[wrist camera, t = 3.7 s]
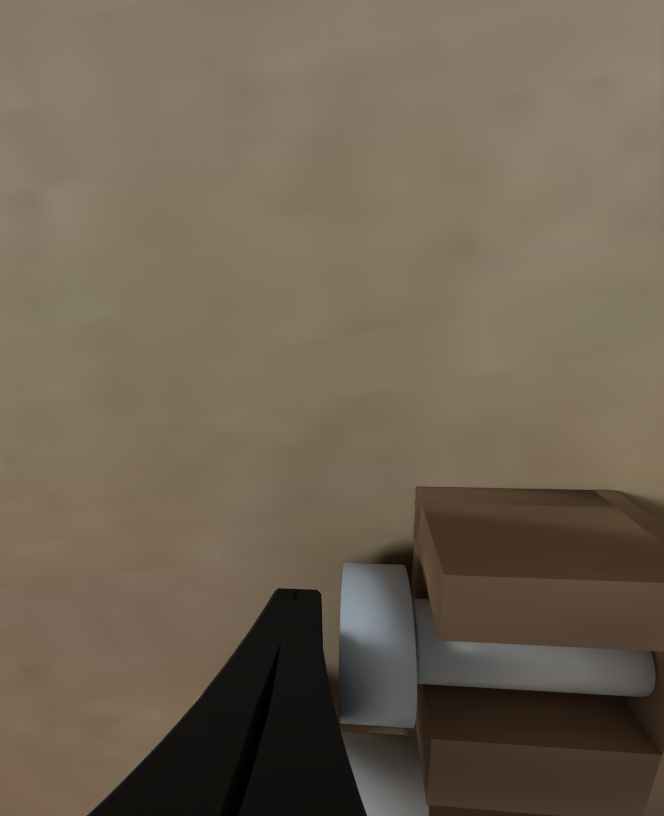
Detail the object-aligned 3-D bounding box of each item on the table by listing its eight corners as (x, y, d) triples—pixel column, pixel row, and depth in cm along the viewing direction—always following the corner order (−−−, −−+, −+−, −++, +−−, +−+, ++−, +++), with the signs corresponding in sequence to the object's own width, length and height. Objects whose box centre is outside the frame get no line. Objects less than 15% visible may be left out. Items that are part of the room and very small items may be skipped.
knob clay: (219, 737, 13) (172, 881, 10) (209, 663, 12) (153, 795, 9) (412, 751, 12) (430, 908, 9) (416, 675, 12) (439, 819, 8)
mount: (539, 857, 14) (596, 1031, 11) (398, 844, 15) (410, 1009, 11) (616, 491, 10) (751, 586, 7) (416, 487, 11) (443, 575, 7)
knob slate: (345, 631, 11) (340, 762, 8) (344, 536, 10) (338, 640, 7) (573, 643, 11) (666, 787, 8) (593, 544, 10) (708, 660, 7)
